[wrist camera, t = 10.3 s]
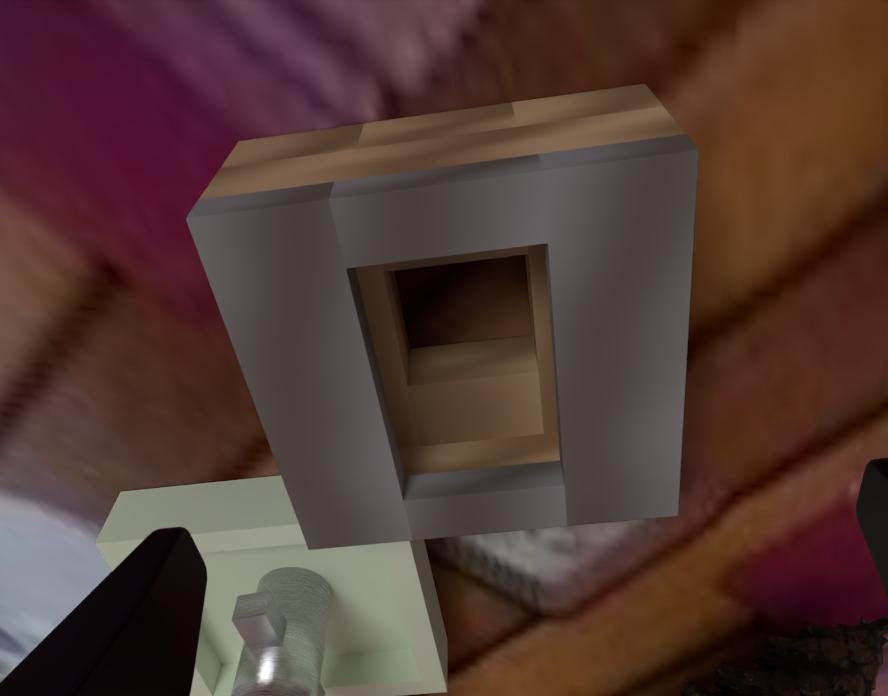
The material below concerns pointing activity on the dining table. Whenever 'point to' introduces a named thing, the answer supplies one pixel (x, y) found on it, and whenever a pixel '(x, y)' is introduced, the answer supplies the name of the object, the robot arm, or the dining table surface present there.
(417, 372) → the block
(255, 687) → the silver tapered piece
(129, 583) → the robot arm
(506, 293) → the dining table surface
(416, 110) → the dining table surface
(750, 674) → the pine cone
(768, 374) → the dining table surface
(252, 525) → the tray
